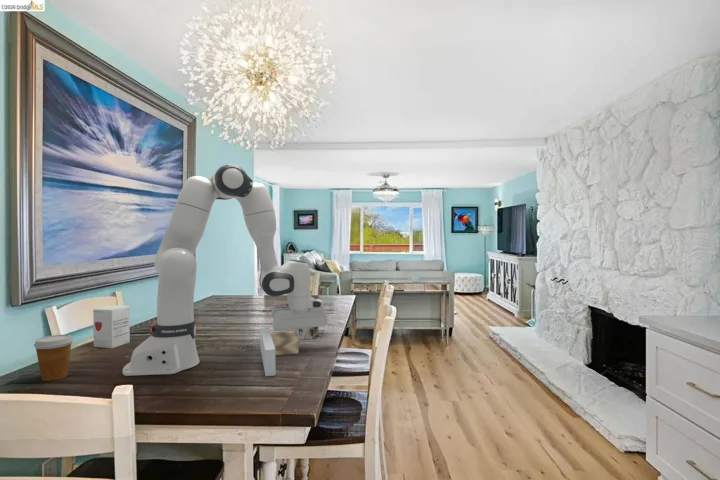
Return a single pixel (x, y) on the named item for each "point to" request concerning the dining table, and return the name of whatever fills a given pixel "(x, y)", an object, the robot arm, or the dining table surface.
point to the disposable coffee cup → (53, 356)
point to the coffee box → (309, 331)
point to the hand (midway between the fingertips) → (300, 339)
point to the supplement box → (111, 326)
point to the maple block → (285, 342)
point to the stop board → (267, 352)
